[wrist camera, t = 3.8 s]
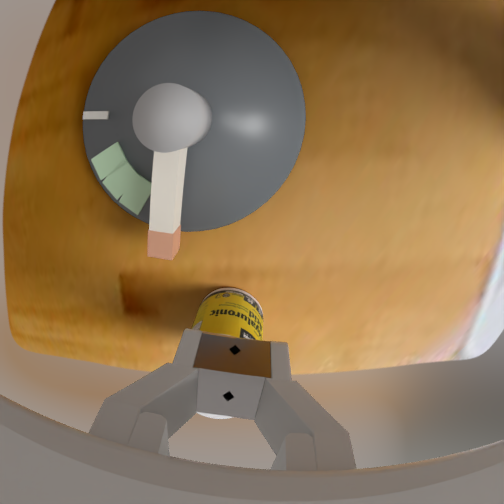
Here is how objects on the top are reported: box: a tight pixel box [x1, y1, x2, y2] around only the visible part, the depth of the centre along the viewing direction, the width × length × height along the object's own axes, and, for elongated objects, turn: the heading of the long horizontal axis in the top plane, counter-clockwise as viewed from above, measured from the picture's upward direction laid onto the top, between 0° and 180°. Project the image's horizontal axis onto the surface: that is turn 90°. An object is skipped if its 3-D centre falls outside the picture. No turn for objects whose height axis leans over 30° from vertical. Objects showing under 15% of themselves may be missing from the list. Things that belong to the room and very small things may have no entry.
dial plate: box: [83, 11, 306, 232], centre depth 20 cm, size 16×16×1 cm
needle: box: [132, 83, 212, 260], centre depth 19 cm, size 11×4×4 cm, turn 171°
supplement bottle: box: [192, 288, 263, 419], centre depth 22 cm, size 5×5×10 cm
